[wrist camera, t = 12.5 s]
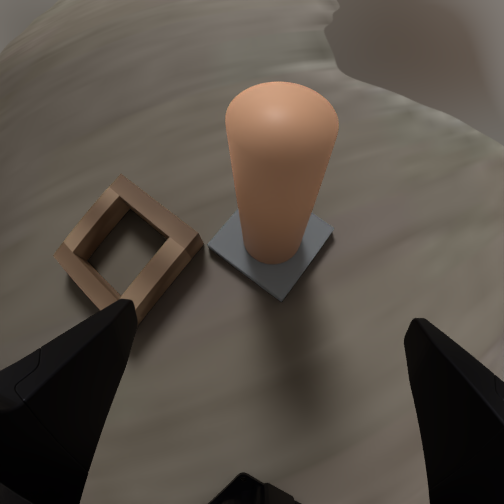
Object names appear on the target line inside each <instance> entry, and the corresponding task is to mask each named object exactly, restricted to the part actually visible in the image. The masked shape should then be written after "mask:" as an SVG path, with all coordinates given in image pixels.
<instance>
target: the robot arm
mask: <svg viewBox="0 0 504 504" xmlns="http://www.w3.org/2000/svg"><path fill="white" fill-rule="evenodd" d="M137 325H138V319H137V315H136V310H135V306H134V302H133V301H132V300H130V299H119V300H117V301H115V302H114V303H112V304H110V305H109V306H107V307H105V308H104V309H102V310H101V311H99V312H97V313H96V314H94V315H92V316H91V317H89V318H87V319H86V320H84V321H82V322H81V323H79V324H78V325H76V326H74V327H73V328H71V329H69V330H68V331H66V332H65V333H63V334H61V335H60V336H58V337H57V338H55V339H53V340H52V341H50V342H49V343H47V344H45V345H44V346H42V347H41V348H39V349H37V350H36V351H34V352H33V353H31V354H29V355H28V356H26V357H24V358H23V359H21V360H19V361H18V362H16V363H14V364H12V365H10V366H8V367H7V368H5V369H3V370H1V371H0V504H79V503H80V500H81V496H82V493H83V489H84V486H85V482H86V479H87V476H88V472H89V469H90V466H91V462H92V459H93V456H94V453H95V450H96V447H97V444H98V441H99V438H100V435H101V432H102V429H103V426H104V424H105V421H106V418H107V415H108V412H109V410H110V407H111V404H112V402H113V399H114V396H115V394H116V391H117V388H118V386H119V383H120V380H121V378H122V375H123V373H124V370H125V367H126V365H127V361H128V358H129V354H130V350H131V347H132V343H133V340H134V336H135V333H136V329H137ZM404 347H405V353H406V360H407V367H408V374H409V381H410V386H411V390H412V395H413V399H414V404H415V408H416V413H417V418H418V423H419V428H420V434H421V439H422V445H423V451H424V458H425V464H426V472H427V479H428V488H429V499H430V504H504V382H503V381H502V380H501V379H500V378H498V377H497V376H496V375H494V373H492V372H491V371H490V370H489V369H488V368H486V367H485V366H484V365H483V364H482V363H480V362H479V361H478V360H477V359H476V358H474V357H473V356H472V355H471V354H469V353H468V352H467V351H466V350H464V349H463V348H462V347H461V346H459V345H458V344H457V343H456V342H454V341H453V340H452V339H451V338H449V337H448V336H447V335H446V334H444V333H443V332H442V331H440V330H439V329H438V328H437V327H435V326H434V325H433V324H431V323H430V322H429V321H428V320H426V319H425V318H414V319H413V320H412V321H411V323H410V326H409V328H408V330H407V332H406V335H405V338H404ZM241 477H245V478H246V480H241V479H240V478H241ZM208 504H301V503H299V502H297V501H295V500H294V498H293V496H291V495H289V494H287V493H285V492H284V491H282V490H280V489H278V488H276V487H275V486H273V485H271V484H269V483H262V482H260V481H259V480H257V479H255V478H254V477H252V476H250V475H249V474H247V473H240V474H238V475H237V476H236V477H235V478H234V479H233V480H232V481H231V482H230V483H229V484H228V485H227V486H226V487H225V488H224V489H223V490H222V491H221V492H220V493H219V494H218V495H217V496H216V497H215V498H214V499H213V500H211V501H210V502H209V503H208Z"/></svg>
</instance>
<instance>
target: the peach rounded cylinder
mask: <svg viewBox="0 0 504 504" xmlns="http://www.w3.org/2000/svg"><path fill="white" fill-rule="evenodd" d="M225 124H226V130H227V137H228V144H229V151H230V157H231V164H232V171H233V177H234V184H235V190H236V197H237V204H238V210H239V217H240V223H241V230H242V236H243V242H244V246H245V248H246V250H247V251H248V253H249V254H250V255H251V256H252V257H253V258H254V259H256V260H257V261H259V262H262V263H265V264H280V263H283V262H285V261H287V260H289V259H290V258H292V257H293V256H294V255H295V253H296V252H297V250H298V248H299V246H300V243H301V241H302V238H303V235H304V232H305V229H306V227H307V224H308V221H309V218H310V215H311V212H312V210H313V207H314V204H315V201H316V198H317V195H318V192H319V189H320V186H321V183H322V180H323V177H324V174H325V171H326V168H327V165H328V162H329V159H330V156H331V153H332V150H333V147H334V144H335V141H336V137H337V134H338V130H339V122H338V117H337V114H336V112H335V110H334V108H333V107H332V106H331V104H330V103H329V102H328V101H327V100H326V99H325V98H324V97H323V96H322V95H320V94H319V93H317V92H315V91H314V90H312V89H310V88H307V87H305V86H302V85H299V84H295V83H289V82H267V83H262V84H258V85H255V86H252V87H250V88H248V89H246V90H244V91H242V92H241V93H240V94H238V95H237V96H236V97H235V98H234V99H233V100H232V102H231V103H230V105H229V107H228V109H227V112H226V117H225Z"/></svg>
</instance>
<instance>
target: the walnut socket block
mask: <svg viewBox="0 0 504 504" xmlns="http://www.w3.org/2000/svg"><path fill="white" fill-rule="evenodd" d="M129 209H131V210H133V211H134V212H135V213H136V214H137V215H139V216H140V217H141V218H142V219H143V220H145V221H146V222H147V223H148V224H149V225H151V226H152V227H153V228H154V229H156V230H157V231H158V232H159V233H160V234H162V235H163V236H164V237H165V238H167V239H168V240H167V241H166V242H165V243H164V244H163V245H162V247H161V248H160V249H159V250H158V251H157V253H156V254H155V255H154V256H153V257H152V259H151V260H150V261H149V262H148V264H147V265H146V266H145V267H144V268H143V270H142V271H141V272H140V273H139V275H138V276H137V277H136V278H135V280H134V281H133V282H132V283H131V285H130V286H129V287H128V288H127V290H126V291H125V292H124V294H123V295H122V296H121V295H120V294H119V293H118V292H117V291H116V290H115V289H114V288H113V287H112V286H111V285H110V284H109V283H108V282H107V281H106V280H105V279H104V278H103V277H102V276H101V275H100V274H99V273H98V272H97V271H96V270H95V269H94V268H93V267H92V266H91V264H90V263H89V262H88V261H87V260H88V259H89V258H90V256H91V255H92V254H93V253H94V251H95V250H96V249H97V248H98V246H99V245H100V244H101V243H102V241H103V240H104V239H105V238H106V236H107V235H108V234H109V233H110V232H111V230H112V229H113V228H114V227H115V226H116V224H117V223H118V222H119V221H120V220H121V219H122V217H123V216H124V215H125V214H126V213H127V212H128V210H129ZM203 245H204V243H203V241H202V239H201V237H200V235H199V233H198V232H196V231H195V230H194V229H193V228H191V227H190V226H189V225H187V224H186V223H185V222H183V221H182V220H181V219H179V218H178V217H177V216H175V215H174V214H173V213H171V212H170V211H169V210H168V209H166V208H165V207H164V206H162V205H161V204H160V203H158V202H157V201H156V200H154V199H153V198H152V197H151V196H149V195H148V194H147V193H145V192H144V191H143V190H141V189H140V188H139V187H138V186H136V185H135V184H134V183H132V182H131V181H130V180H129V179H127V178H126V177H125V176H123V175H122V174H120V175H119V176H118V177H117V179H116V180H115V181H114V182H113V183H112V184H111V185H110V186H109V187H108V188H107V190H106V191H105V192H104V193H103V194H102V195H101V196H100V197H99V199H98V200H97V201H96V202H95V203H94V204H93V206H92V207H91V208H90V209H89V210H88V212H87V213H86V214H85V215H84V216H83V218H82V219H81V220H80V221H79V222H78V224H77V225H76V226H75V227H74V229H73V230H72V231H71V233H70V234H69V235H68V236H67V238H66V239H65V240H64V242H63V243H62V244H61V246H60V247H59V248H58V250H57V251H56V252H55V254H54V255H53V256H54V257H55V259H56V260H57V261H58V262H59V264H60V265H61V266H62V267H63V268H64V270H65V271H66V272H67V273H68V274H69V276H70V277H71V278H72V279H73V280H74V281H75V283H76V284H77V285H78V286H79V287H80V288H81V290H82V291H83V292H84V293H85V294H86V295H87V296H88V297H89V298H90V300H91V301H92V302H93V303H94V304H95V305H96V306H97V307H98V308H99V309H100V310H102V309H104V308H105V307H107V306H109V305H110V304H112V303H114V302H115V301H117V300H119V299H130V300H132V301H133V302H134V306H135V310H136V315H137V319H138V325H139V324H140V322H141V321H142V320H143V319H144V317H145V316H146V315H147V314H148V312H149V311H150V310H151V309H152V307H153V306H154V305H155V303H156V302H157V301H158V300H159V298H160V297H161V296H162V295H163V293H164V292H165V291H166V290H167V289H168V287H169V286H170V285H171V284H172V282H173V281H174V280H175V279H176V277H177V276H178V275H179V274H180V273H181V271H182V270H183V269H184V268H185V266H186V265H187V264H188V263H189V262H190V260H191V259H192V258H193V257H194V256H195V254H196V253H197V252H198V251H199V250H200V248H201V247H202V246H203ZM138 325H137V326H138Z"/></svg>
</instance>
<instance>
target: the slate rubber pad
mask: <svg viewBox="0 0 504 504" xmlns="http://www.w3.org/2000/svg"><path fill="white" fill-rule="evenodd" d="M333 230H334V228H333V227H332V226H331V225H329V224H328V223H326V222H325V221H323V220H322V219H320V218H319V217H318V216H316V215H315V214H313V213H312V212H311V215H310V218H309V221H308V224H307V227H306V229H305V232H304V235H303V238H302V241H301V243H300V246H299V248H298V250H297V252H296V253H295V255H294V256H293V257H292V258H290V259H289V260H287V261H285V262H283V263H280V264H265V263H262V262H259V261H257V260H256V259H254V258H253V257H252V256H251V255H250V254H249V253H248V251H247V250H246V248H245V246H244V242H243V236H242V230H241V223H240V217H239V210H238V209H237V210H236V211H235V212H234V214H233V215H232V216H231V217H230V218H229V219H228V221H227V222H226V223H225V224H224V225H223V226H222V228H221V229H220V230H219V231H218V232H217V234H216V235H215V236H214V237H213V238H212V239H211V241H210V242H209V243H208V244H207V245H208V247H209V248H210V249H211V250H212V251H214V252H215V253H216V254H218V255H219V256H220V257H222V258H223V259H224V260H226V261H227V262H228V263H230V264H231V265H232V266H234V267H235V268H236V269H238V270H239V271H240V272H242V273H243V274H244V275H246V276H247V277H248V278H250V279H251V280H252V281H254V282H255V283H256V284H258V285H259V286H260V287H262V288H263V289H264V290H266V291H267V292H268V293H270V294H271V295H272V296H274V297H275V298H277V299H278V300H279V301H281V302H282V301H283V299H284V298H285V297H286V295H287V294H288V293H289V291H290V290H291V289H292V287H293V286H294V285H295V283H296V282H297V280H298V279H299V278H300V276H301V275H302V274H303V272H304V271H305V269H306V268H307V267H308V265H309V264H310V263H311V261H312V260H313V258H314V257H315V256H316V254H317V253H318V251H319V250H320V249H321V247H322V246H323V244H324V243H325V241H326V240H327V239H328V237H329V236H330V234H331V233H332V231H333Z"/></svg>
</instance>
